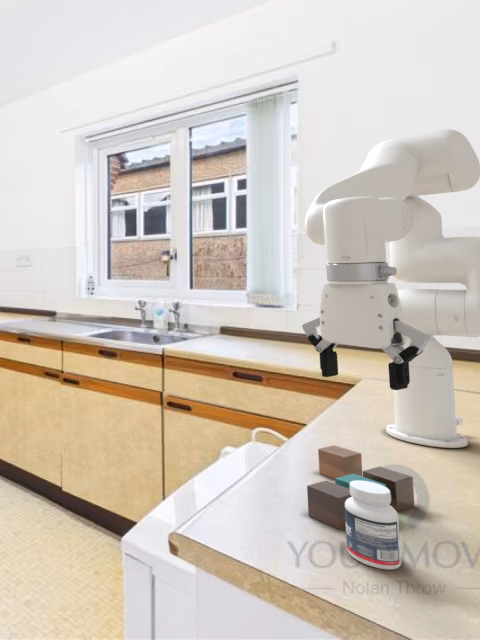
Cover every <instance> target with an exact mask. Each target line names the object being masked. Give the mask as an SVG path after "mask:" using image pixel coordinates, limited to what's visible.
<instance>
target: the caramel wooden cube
mask: <svg viewBox="0 0 480 640" xmlns="http://www.w3.org/2000/svg"><path fill="white" fill-rule="evenodd" d="M317 452H318V453H317V455H318V472H319V475H322V476H324V477H327V478H330V479H333V480H335V478H338V477H342V476H346V475H350V474H356V475H359V476H362V477H363V462H362V460H363V459H362V458H363V457H362V453H361V452H358V451H354V450H351V449H348V448H345V447H341V446H338V445H335V444H334V445H330V446H325V447H320V448H318V449H317Z"/></svg>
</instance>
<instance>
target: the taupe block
mask: <svg viewBox="0 0 480 640" xmlns="http://www.w3.org/2000/svg"><path fill="white" fill-rule="evenodd" d="M362 477H365V478H368V479H371V480H374V481H377V482H380V483H383V484H386V488H388V489H389V490H390V493H391V503H390V504H389V505H390V506H392V507H393V508H394V509H395V510H396V512H400V511H403V510H406V509H409V508H412V507H415V493H414V476H411V475H408V474H405V473H401V472H398V471H395V470H392V469H389V468H386V467H383V466H377V467H372V468H369V469H365V470H362Z"/></svg>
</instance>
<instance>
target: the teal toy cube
mask: <svg viewBox="0 0 480 640" xmlns="http://www.w3.org/2000/svg"><path fill="white" fill-rule="evenodd" d="M356 480H360V481H369V482H373V483H377V484H380V485H382V486H385V487H386V484H383V483H380V482H377V481H374V480H371V479H368V478H365V477H363V475H362V476H359V475H356V474H350V475H346V476H342V477H338V478H335V479H334V483H335V484H337V485H340V486H343V487H345V488H348V489H350V482H351V481H356Z"/></svg>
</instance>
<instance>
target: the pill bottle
mask: <svg viewBox="0 0 480 640" xmlns="http://www.w3.org/2000/svg"><path fill="white" fill-rule="evenodd" d="M350 495H351V496H352V497H350V498H348V499H347V500H346V501H345V519H346V528H345V536H346V539H345V540H346V550H347V552H348V554H349V556H351V558H353V559H355V560H356V561H358V562H359V563H362V564H363V565H366V566H369V567H373V568H376V569H381V570H390V571H391V570H396V569H399V568H401V566H402V557H401V543H400V527H399V526H400V524H399V514H398V511H396V510H395V509H394V508H393V507H392V506H390V505H389V504H390V503H391V493H390V490H389V489H388V488H386V487H385V486H382V485H380V484H377V483H373V482H369V481H360V480H356V481H351V482H350Z"/></svg>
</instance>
